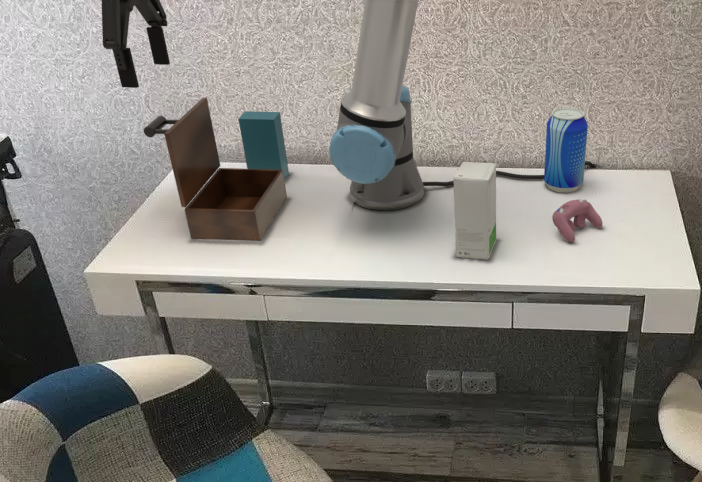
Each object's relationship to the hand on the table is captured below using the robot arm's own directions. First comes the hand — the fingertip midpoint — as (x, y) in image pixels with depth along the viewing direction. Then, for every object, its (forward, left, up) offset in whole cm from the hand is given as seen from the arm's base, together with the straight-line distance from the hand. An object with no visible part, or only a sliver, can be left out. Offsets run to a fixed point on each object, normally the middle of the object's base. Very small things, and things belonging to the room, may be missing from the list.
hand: (147, 75), depth 142 cm
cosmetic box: (-60, +10, -28) cm, 67 cm away
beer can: (-77, -19, -28) cm, 84 cm away
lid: (-6, +1, -14) cm, 15 cm away
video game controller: (-79, +2, -28) cm, 84 cm away
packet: (-13, -19, -28) cm, 36 cm away
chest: (-13, +1, -28) cm, 31 cm away
